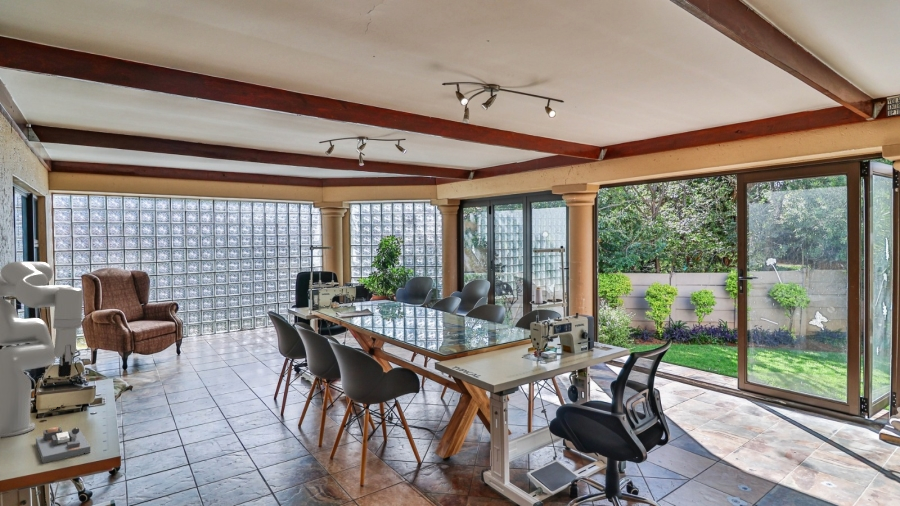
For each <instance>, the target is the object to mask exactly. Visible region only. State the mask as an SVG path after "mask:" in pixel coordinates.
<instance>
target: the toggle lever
mask: <svg viewBox="0 0 900 506" xmlns="http://www.w3.org/2000/svg"><path fill="white" fill-rule="evenodd" d="M79 429H80V428H78V427H74V428H73V429H72V430H71V431H72V433H73V435H72V440H71V441H72V442H75V441H76V438H77V433H78V432H79Z"/></svg>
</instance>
